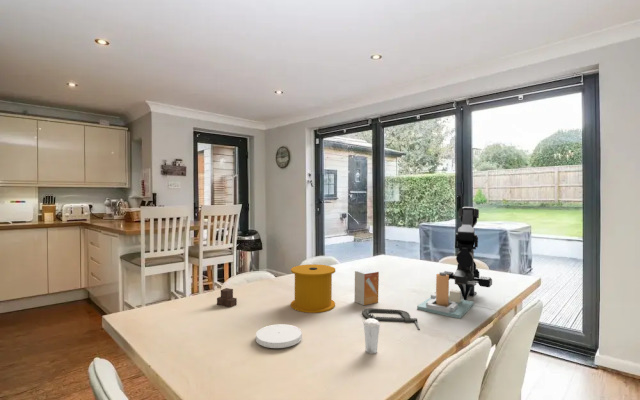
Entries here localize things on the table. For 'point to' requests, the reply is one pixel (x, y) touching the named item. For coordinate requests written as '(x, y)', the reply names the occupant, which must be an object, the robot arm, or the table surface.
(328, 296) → the spool
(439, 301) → the jaw post
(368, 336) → the milkshake
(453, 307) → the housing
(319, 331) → the table surface
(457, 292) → the cream block
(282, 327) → the plastic lid
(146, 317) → the table surface
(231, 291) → the stack of crates
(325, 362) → the table surface
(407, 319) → the c clamp
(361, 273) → the small box
